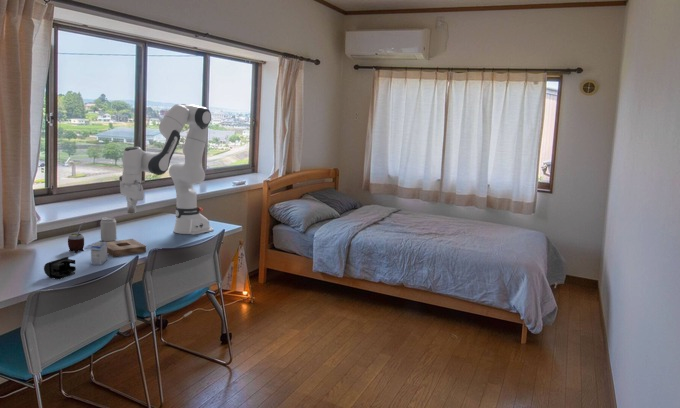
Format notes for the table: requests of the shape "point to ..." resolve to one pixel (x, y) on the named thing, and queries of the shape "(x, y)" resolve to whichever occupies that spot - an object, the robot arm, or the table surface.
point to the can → (108, 229)
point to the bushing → (130, 206)
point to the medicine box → (98, 253)
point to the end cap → (60, 268)
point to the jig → (125, 247)
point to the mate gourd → (76, 241)
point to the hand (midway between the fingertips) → (131, 206)
